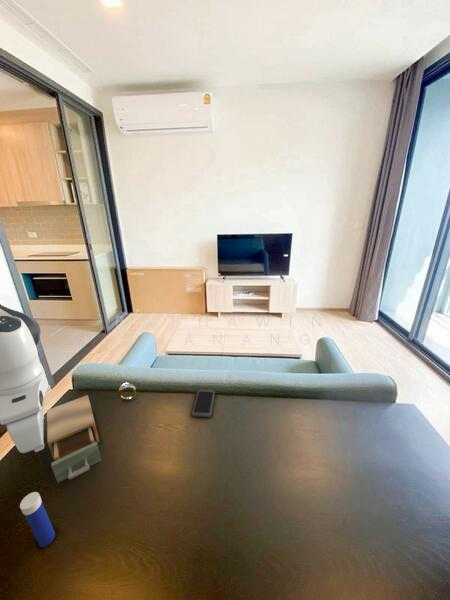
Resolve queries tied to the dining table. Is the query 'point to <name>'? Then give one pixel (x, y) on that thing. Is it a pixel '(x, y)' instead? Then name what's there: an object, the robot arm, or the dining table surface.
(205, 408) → the cell phone
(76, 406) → the cabinet
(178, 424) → the dining table surface
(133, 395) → the ring
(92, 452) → the drawer
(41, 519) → the disc
